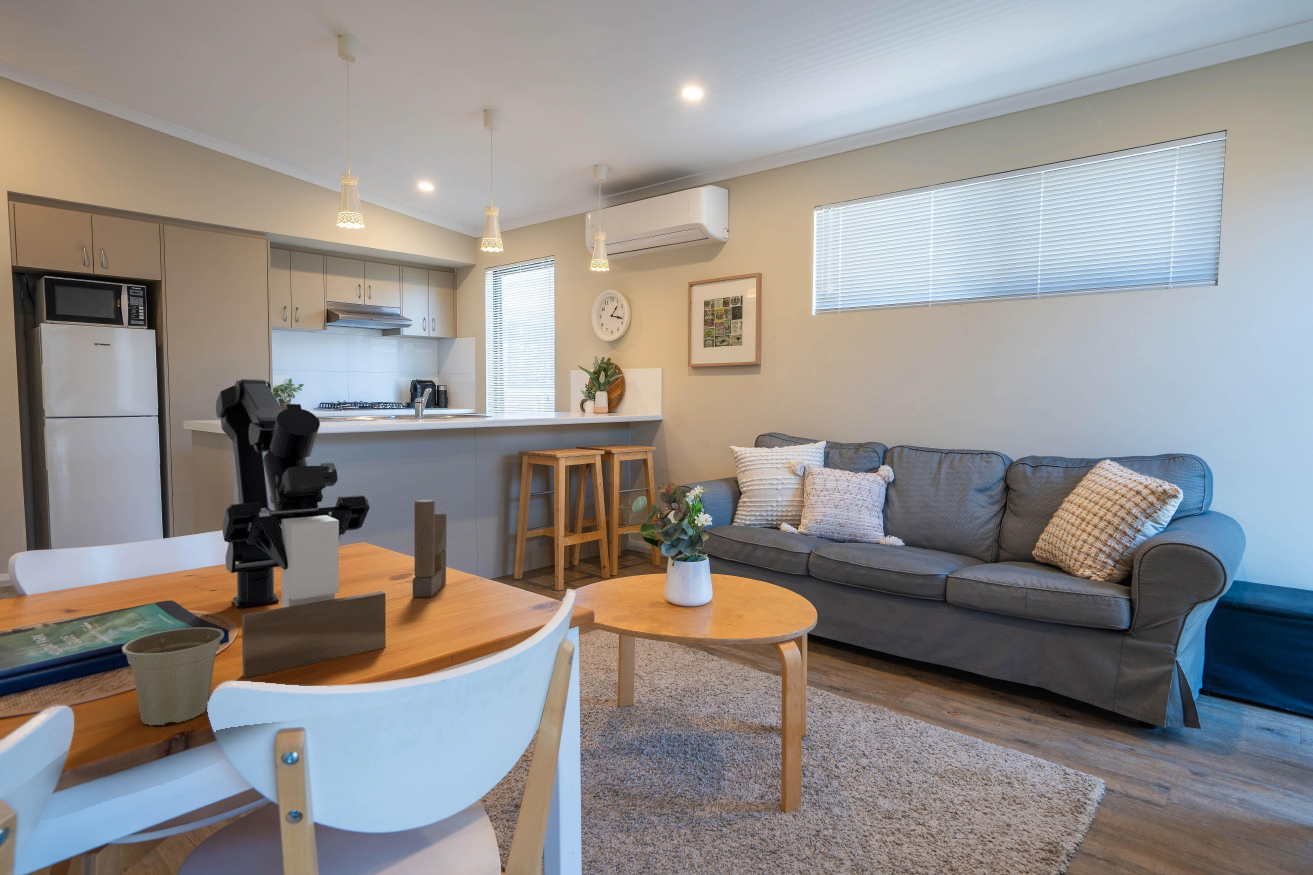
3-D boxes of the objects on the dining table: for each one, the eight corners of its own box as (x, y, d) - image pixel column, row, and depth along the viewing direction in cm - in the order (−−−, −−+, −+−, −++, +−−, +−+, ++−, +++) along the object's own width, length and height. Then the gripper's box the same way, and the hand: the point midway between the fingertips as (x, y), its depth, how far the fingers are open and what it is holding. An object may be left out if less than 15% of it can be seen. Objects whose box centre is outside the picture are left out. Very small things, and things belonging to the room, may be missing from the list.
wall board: (240, 671, 90) (239, 612, 89) (378, 641, 102) (378, 589, 101) (245, 677, 88) (244, 616, 87) (385, 646, 100) (385, 593, 99)
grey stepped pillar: (446, 583, 137) (446, 494, 136) (431, 597, 126) (431, 501, 125) (428, 583, 137) (428, 494, 136) (411, 597, 126) (411, 501, 125)
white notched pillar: (280, 607, 97) (280, 518, 97) (325, 600, 101) (324, 514, 101) (292, 618, 92) (292, 524, 92) (338, 610, 97) (338, 520, 96)
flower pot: (158, 697, 81) (157, 626, 81) (240, 696, 82) (240, 625, 82) (101, 734, 72) (100, 655, 72) (194, 732, 73) (193, 653, 72)
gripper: (225, 446, 93) (243, 538, 85) (365, 443, 106) (392, 523, 98) (215, 497, 99) (231, 587, 91) (348, 488, 112) (372, 567, 104)
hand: (310, 564), depth 96 cm, fingers closed on white notched pillar, 6 cm apart
